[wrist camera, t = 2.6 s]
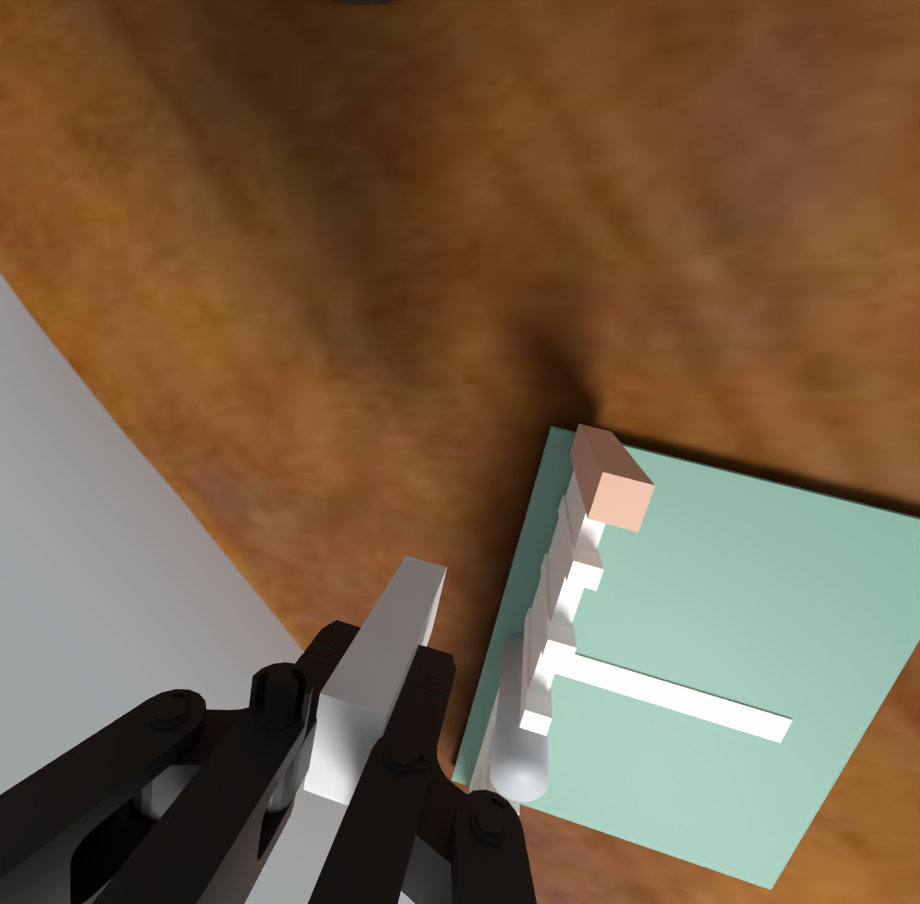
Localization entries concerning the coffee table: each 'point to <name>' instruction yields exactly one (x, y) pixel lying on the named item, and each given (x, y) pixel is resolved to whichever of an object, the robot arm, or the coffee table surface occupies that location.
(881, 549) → the board
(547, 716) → the white crenellated wall
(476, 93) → the coffee table surface
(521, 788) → the fixed fence
